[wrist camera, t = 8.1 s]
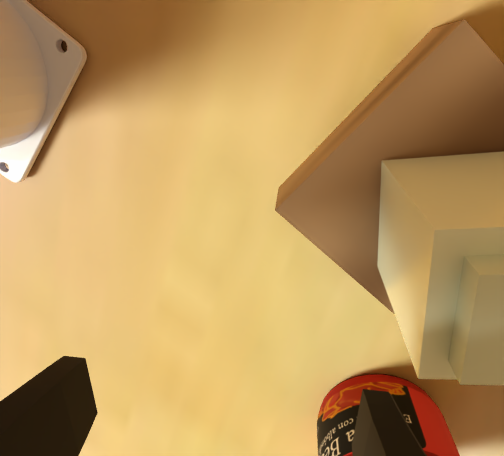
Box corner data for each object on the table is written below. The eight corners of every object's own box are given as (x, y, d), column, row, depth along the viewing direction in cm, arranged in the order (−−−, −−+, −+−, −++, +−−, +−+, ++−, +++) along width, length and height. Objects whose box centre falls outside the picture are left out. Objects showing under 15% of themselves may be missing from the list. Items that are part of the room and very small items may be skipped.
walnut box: (279, 185, 18) (275, 210, 15) (429, 29, 15) (464, 19, 12) (400, 293, 20) (419, 336, 17) (560, 175, 16) (623, 201, 13)
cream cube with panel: (377, 266, 15) (427, 403, 9) (381, 160, 14) (448, 246, 7) (495, 262, 15) (632, 409, 9) (517, 150, 13) (714, 237, 7)
